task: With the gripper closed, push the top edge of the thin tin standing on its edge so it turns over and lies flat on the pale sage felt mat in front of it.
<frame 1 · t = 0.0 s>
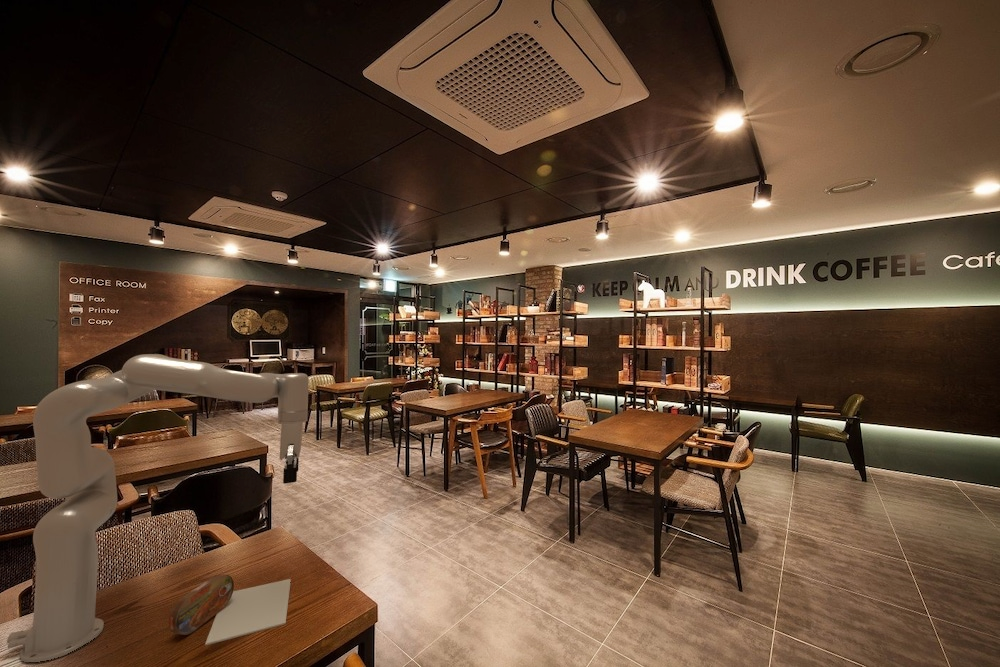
hand: (291, 477, 108), 31 cm above the table, tool pointing down, fingers open, 9 cm apart
mat: (253, 608, 99), on the table
tin: (203, 620, 95), on the table, touching mat
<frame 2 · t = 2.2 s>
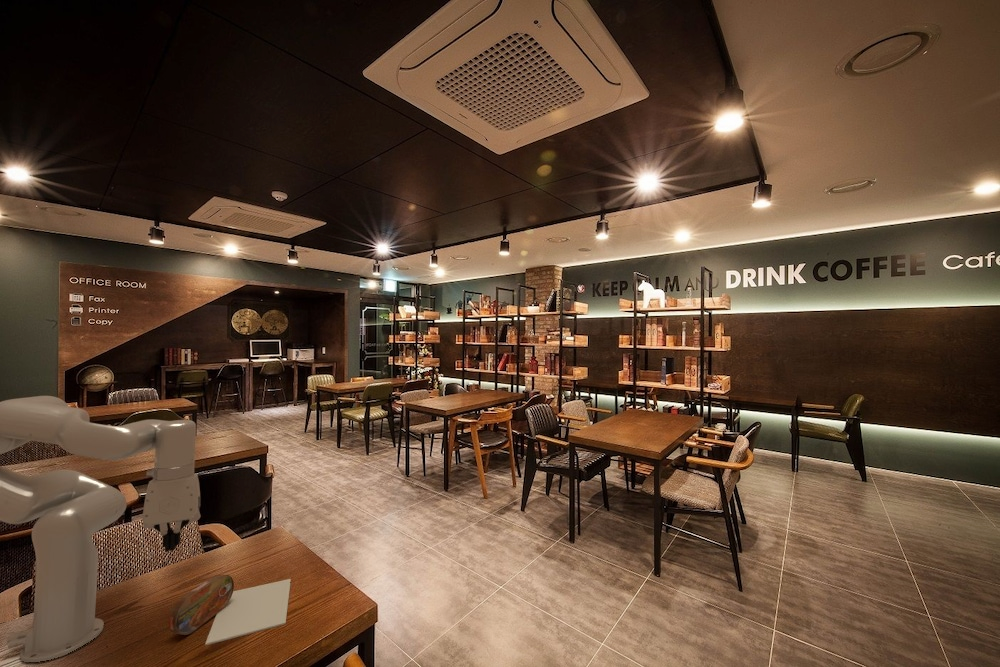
hand: (171, 548, 93), 19 cm above the table, tool pointing down, fingers closed
nothing on the table moved.
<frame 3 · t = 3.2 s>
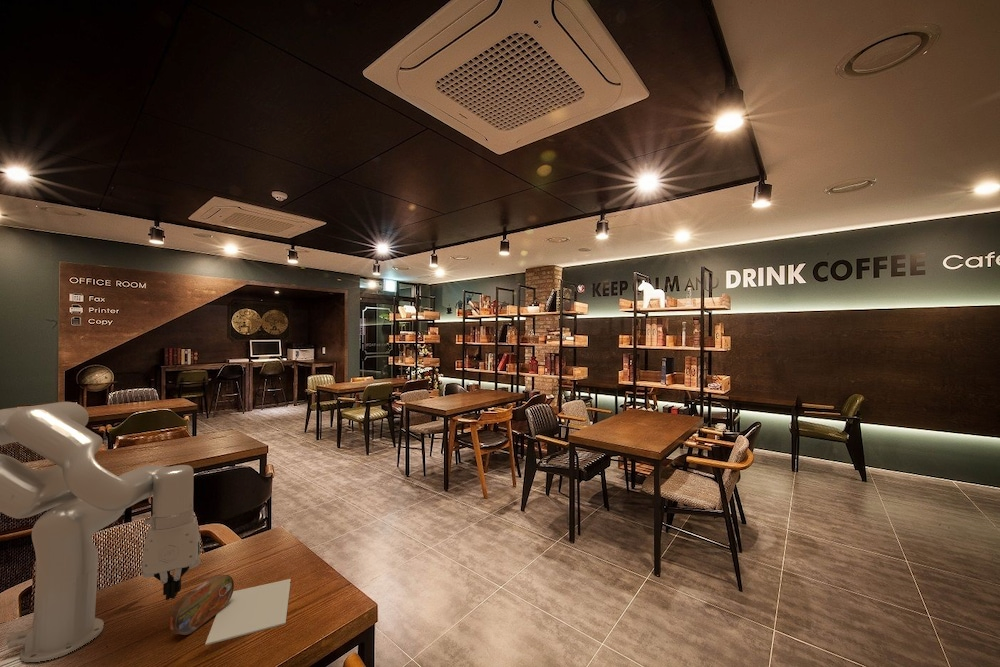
hand: (172, 595, 92), 8 cm above the table, tool pointing down, fingers closed
nothing on the table moved.
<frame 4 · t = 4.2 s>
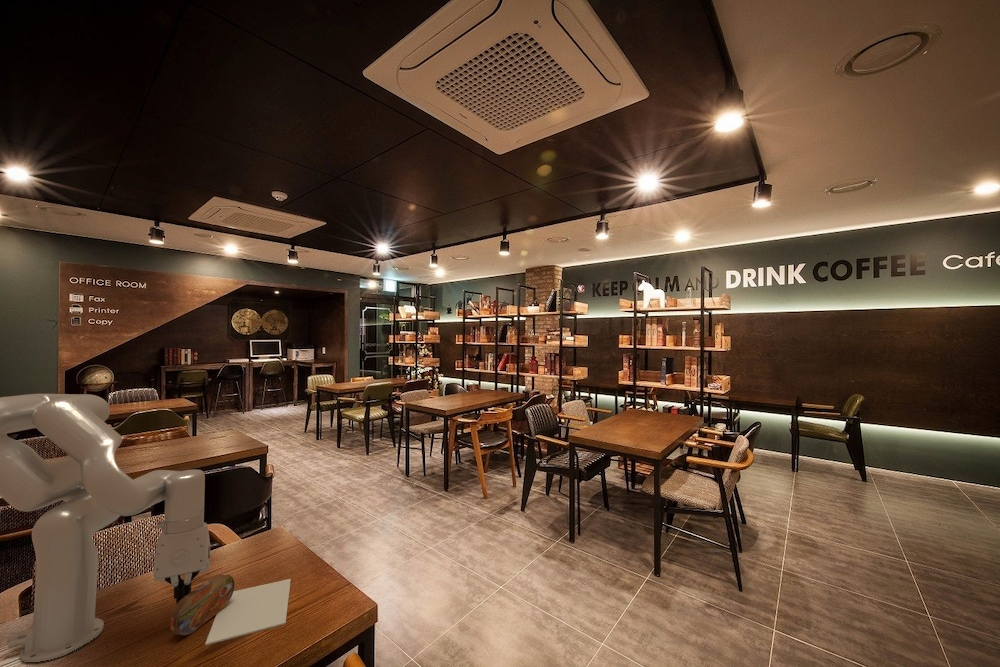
hand: (182, 599, 93), 6 cm above the table, tool pointing down, fingers closed
tin: (203, 620, 95), on the table, touching gripper, mat
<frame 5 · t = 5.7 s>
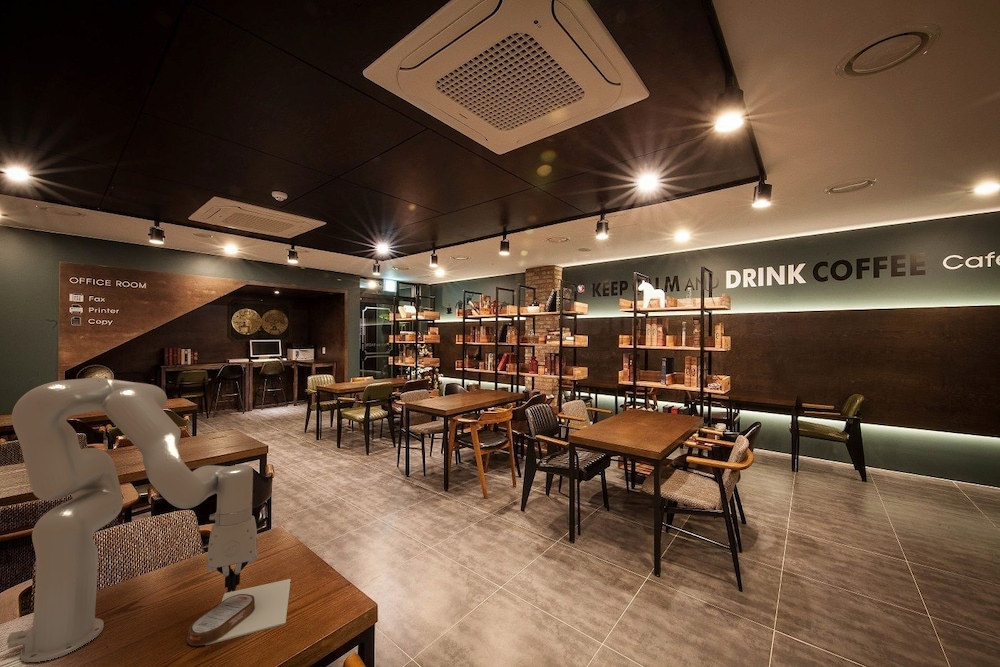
hand: (232, 588, 97), 6 cm above the table, tool pointing down, fingers closed
tin: (208, 613, 94), point 2 cm above the table, touching mat
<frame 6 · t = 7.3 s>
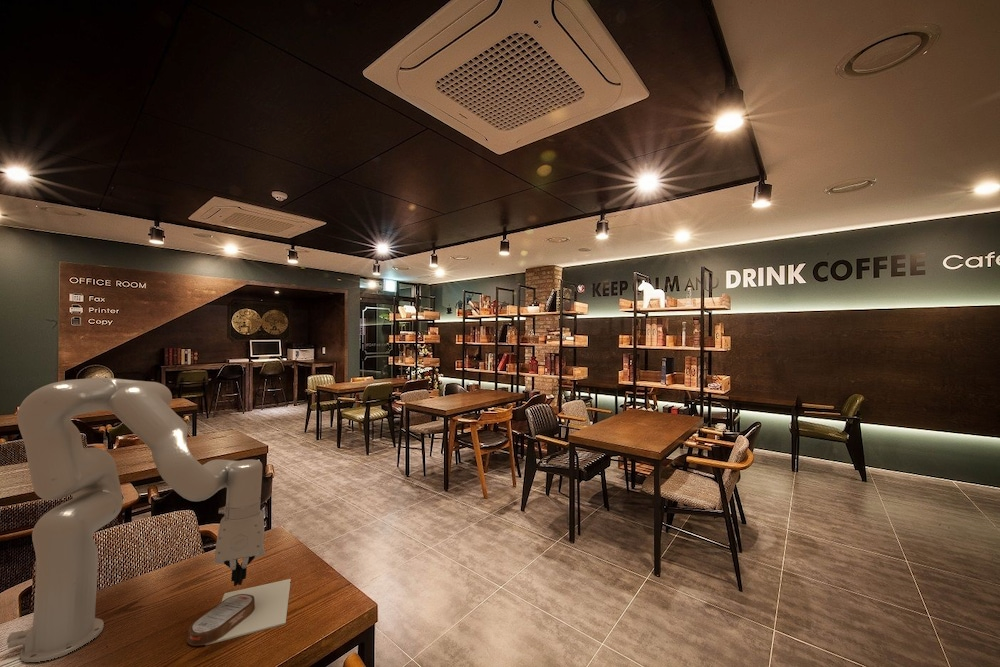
hand: (238, 582, 98), 7 cm above the table, tool pointing down, fingers closed
nothing on the table moved.
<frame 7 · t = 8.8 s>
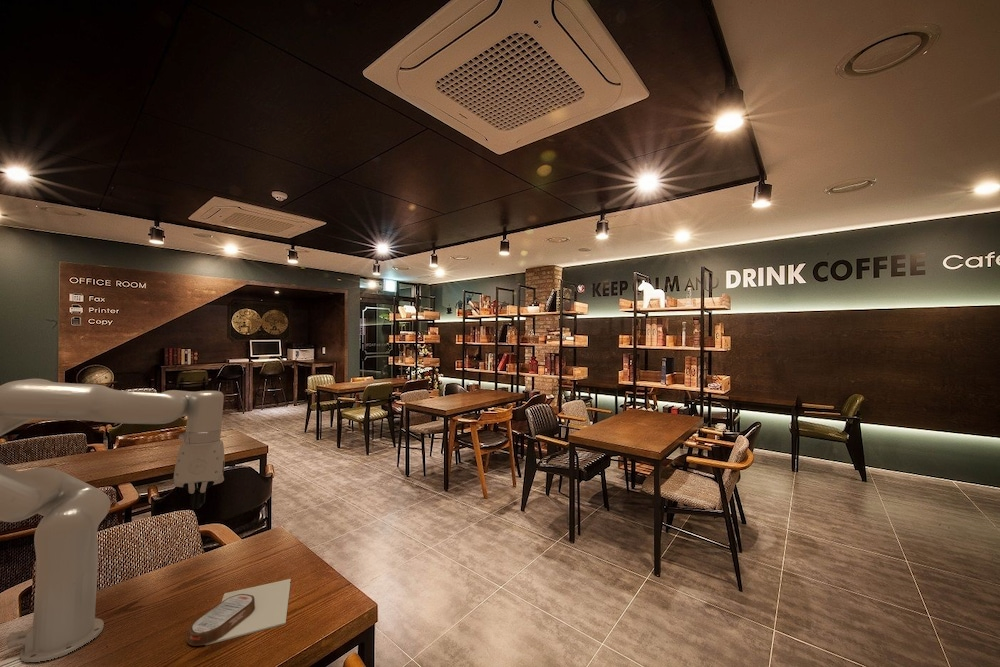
hand: (197, 506, 102), 25 cm above the table, tool pointing down, fingers closed
nothing on the table moved.
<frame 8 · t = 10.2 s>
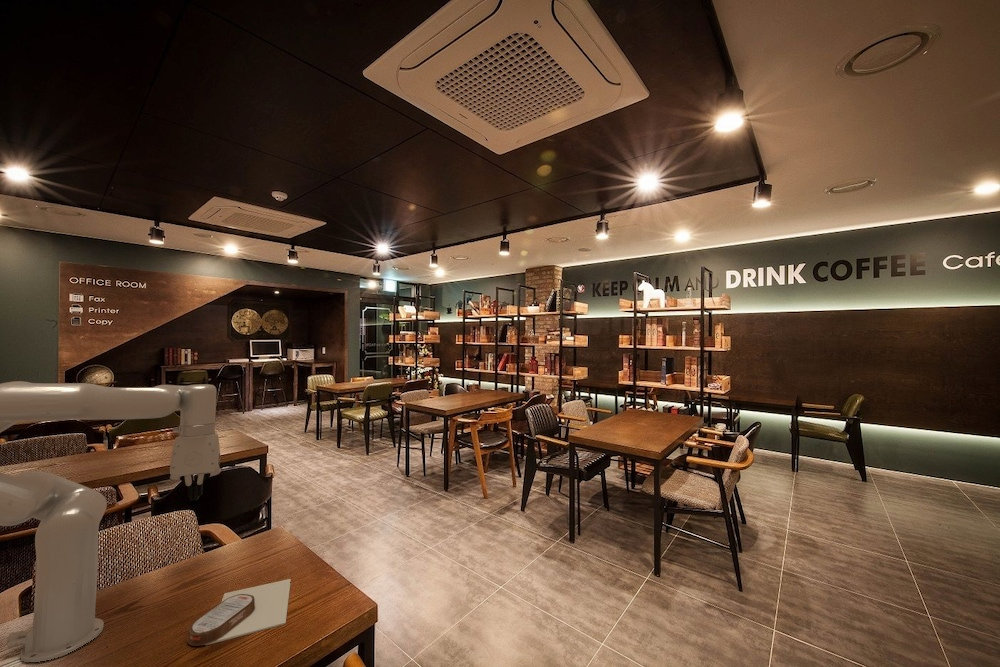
hand: (194, 498, 103), 27 cm above the table, tool pointing down, fingers closed
nothing on the table moved.
at the end: tin tilted 94°; tin touching mat; tin inside the target area (6.9 cm from its centre), point 2.0 cm above the table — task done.
